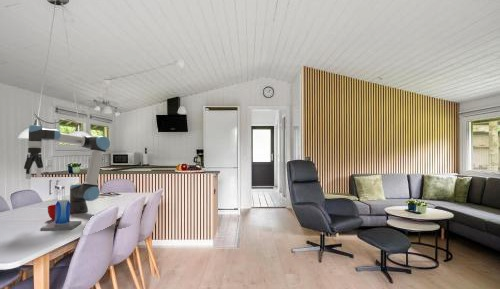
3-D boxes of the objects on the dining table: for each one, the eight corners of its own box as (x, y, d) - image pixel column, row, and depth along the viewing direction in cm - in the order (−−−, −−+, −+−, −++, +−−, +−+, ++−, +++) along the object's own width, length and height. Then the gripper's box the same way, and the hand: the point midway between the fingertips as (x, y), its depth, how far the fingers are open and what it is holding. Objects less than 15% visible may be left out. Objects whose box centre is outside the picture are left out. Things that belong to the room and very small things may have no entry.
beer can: (53, 223, 198) (54, 200, 199) (68, 222, 204) (69, 199, 204) (55, 226, 192) (56, 201, 192) (70, 224, 197) (71, 200, 198)
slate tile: (53, 223, 205) (53, 221, 205) (81, 223, 208) (81, 220, 208) (40, 230, 187) (40, 228, 187) (71, 229, 191) (71, 227, 191)
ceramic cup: (62, 222, 209) (63, 208, 210) (42, 220, 213) (43, 206, 213) (76, 218, 222) (77, 205, 222) (57, 216, 226) (58, 203, 226)
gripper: (38, 147, 216) (36, 176, 216) (18, 147, 192) (16, 179, 191) (49, 147, 218) (48, 176, 217) (31, 147, 193) (29, 179, 192)
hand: (33, 177), depth 204 cm, fingers open, 13 cm apart
